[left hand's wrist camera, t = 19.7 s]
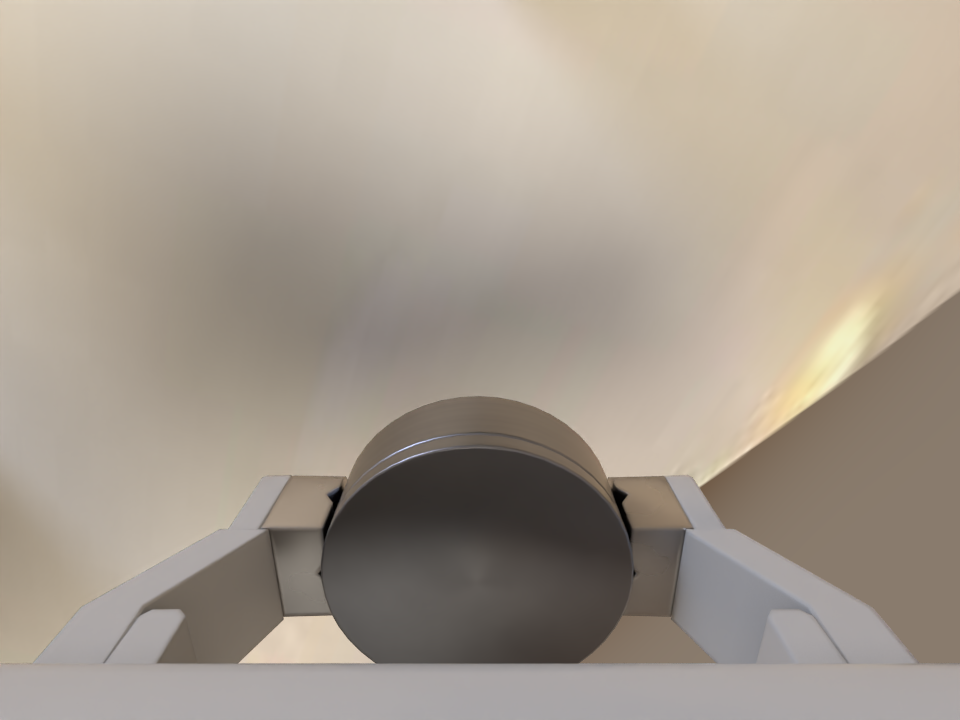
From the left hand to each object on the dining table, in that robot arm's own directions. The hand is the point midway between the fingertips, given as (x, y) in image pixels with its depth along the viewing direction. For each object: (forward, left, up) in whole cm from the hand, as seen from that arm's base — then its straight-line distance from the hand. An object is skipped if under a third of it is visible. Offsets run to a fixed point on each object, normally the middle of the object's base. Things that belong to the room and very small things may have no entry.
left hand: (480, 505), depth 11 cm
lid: (0, 0, +2) cm, 2 cm away
